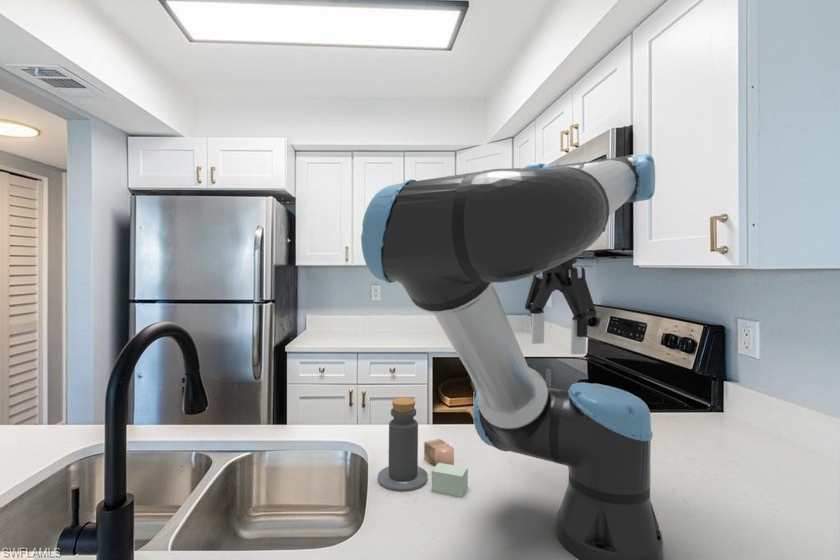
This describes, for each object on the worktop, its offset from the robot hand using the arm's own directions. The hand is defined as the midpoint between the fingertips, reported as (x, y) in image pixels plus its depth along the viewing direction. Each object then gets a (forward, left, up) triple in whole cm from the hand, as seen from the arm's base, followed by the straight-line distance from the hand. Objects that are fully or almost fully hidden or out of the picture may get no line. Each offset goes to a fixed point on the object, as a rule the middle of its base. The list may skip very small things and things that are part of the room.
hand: (556, 348), depth 89 cm
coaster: (+6, +31, -26) cm, 41 cm away
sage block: (0, +23, -27) cm, 35 cm away
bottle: (+6, +31, -26) cm, 40 cm away
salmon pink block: (+7, +22, -26) cm, 35 cm away
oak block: (+13, +22, -26) cm, 37 cm away
